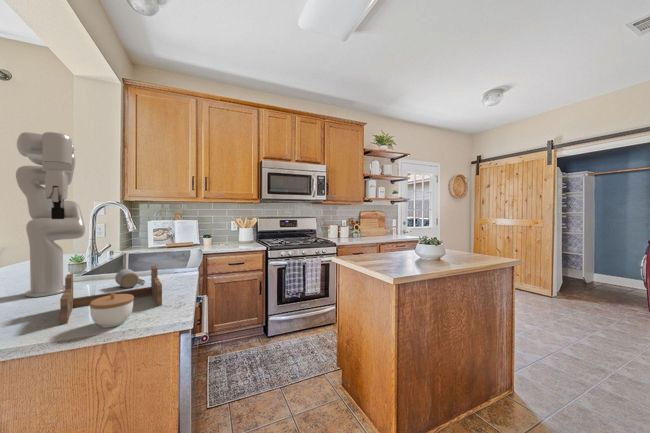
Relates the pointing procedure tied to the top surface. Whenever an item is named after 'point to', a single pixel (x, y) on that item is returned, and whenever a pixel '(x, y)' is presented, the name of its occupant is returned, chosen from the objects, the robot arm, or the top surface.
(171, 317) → the top surface
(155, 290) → the wooden rack
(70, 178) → the robot arm
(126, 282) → the white mug
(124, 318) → the lidded jar
